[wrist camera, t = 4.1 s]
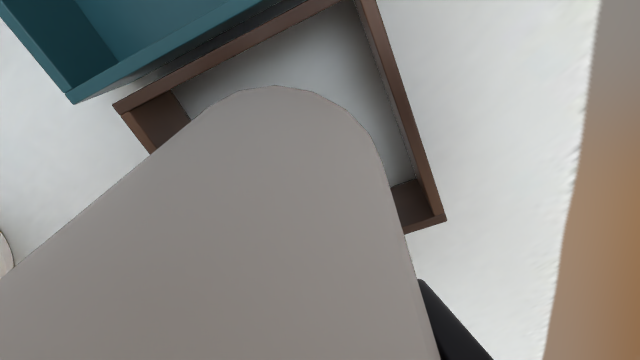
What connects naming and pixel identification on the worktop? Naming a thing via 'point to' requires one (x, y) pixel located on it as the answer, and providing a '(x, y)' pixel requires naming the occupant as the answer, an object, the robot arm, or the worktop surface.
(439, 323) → the robot arm
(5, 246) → the decorative vase
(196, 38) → the teal tote
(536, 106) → the worktop surface
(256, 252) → the can
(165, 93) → the walnut frame
